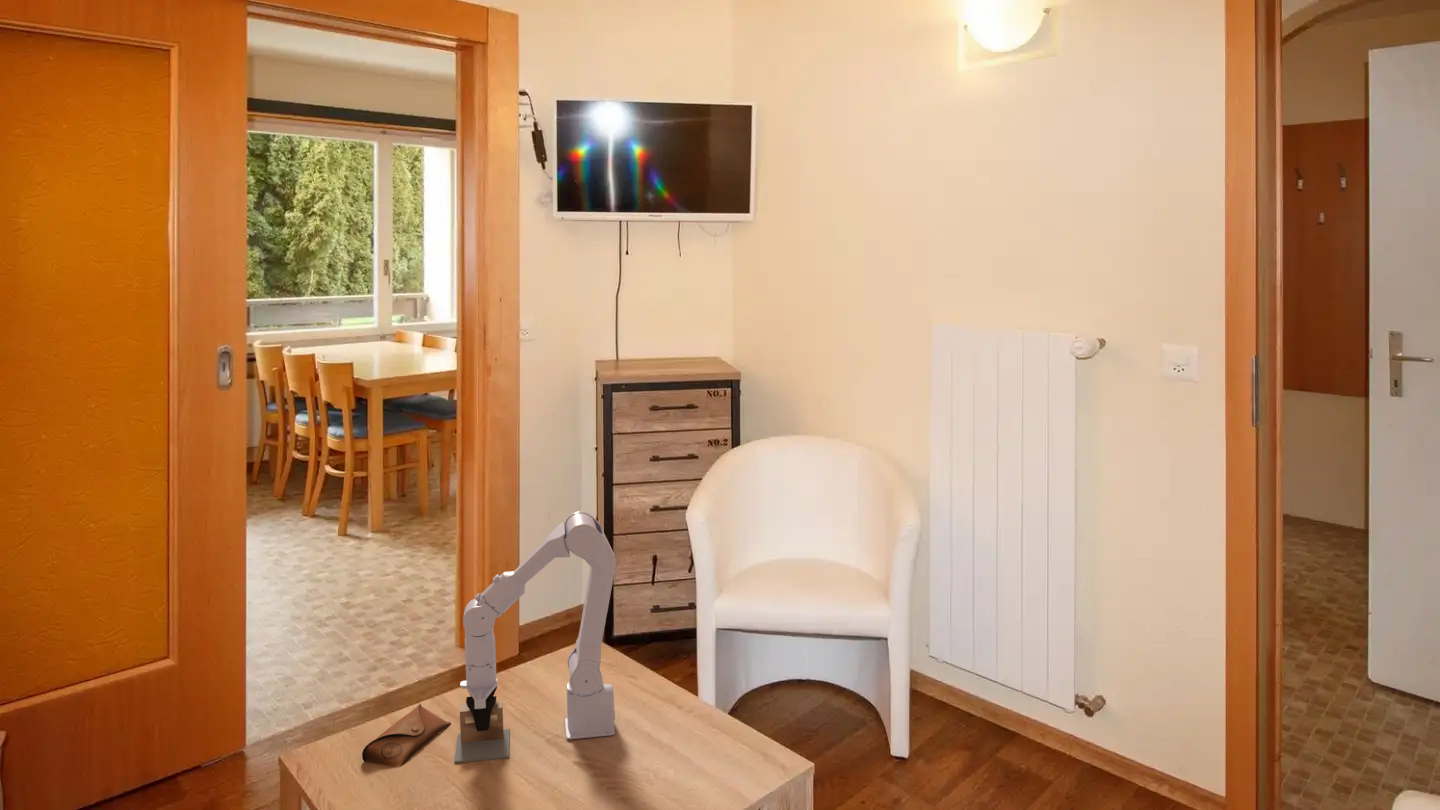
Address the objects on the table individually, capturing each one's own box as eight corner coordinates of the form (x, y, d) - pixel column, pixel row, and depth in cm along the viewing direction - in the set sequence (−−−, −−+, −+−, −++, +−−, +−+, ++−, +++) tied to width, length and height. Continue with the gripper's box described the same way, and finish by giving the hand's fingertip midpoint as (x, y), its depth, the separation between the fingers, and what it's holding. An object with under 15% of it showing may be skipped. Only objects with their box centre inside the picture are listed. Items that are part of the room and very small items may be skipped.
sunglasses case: (400, 768, 169) (383, 737, 169) (373, 781, 172) (356, 750, 172) (454, 721, 187) (438, 693, 187) (428, 733, 189) (413, 705, 189)
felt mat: (509, 730, 183) (509, 729, 183) (509, 757, 174) (508, 755, 174) (458, 735, 181) (458, 733, 181) (454, 763, 172) (454, 761, 171)
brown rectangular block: (503, 730, 182) (502, 700, 181) (503, 738, 180) (502, 708, 178) (461, 734, 181) (460, 704, 180) (460, 742, 178) (459, 711, 177)
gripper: (461, 646, 184) (464, 709, 186) (456, 679, 170) (459, 746, 172) (497, 643, 185) (499, 705, 187) (495, 675, 171) (498, 742, 173)
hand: (483, 725), depth 180 cm, fingers closed on brown rectangular block, 3 cm apart
